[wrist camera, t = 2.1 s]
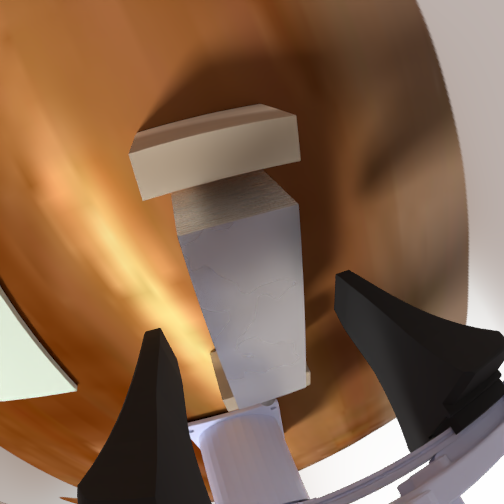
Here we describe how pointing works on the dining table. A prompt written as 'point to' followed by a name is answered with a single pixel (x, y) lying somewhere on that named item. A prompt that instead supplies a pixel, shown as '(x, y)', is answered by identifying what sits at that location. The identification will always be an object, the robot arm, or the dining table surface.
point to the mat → (26, 360)
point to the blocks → (214, 163)
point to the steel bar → (247, 280)
